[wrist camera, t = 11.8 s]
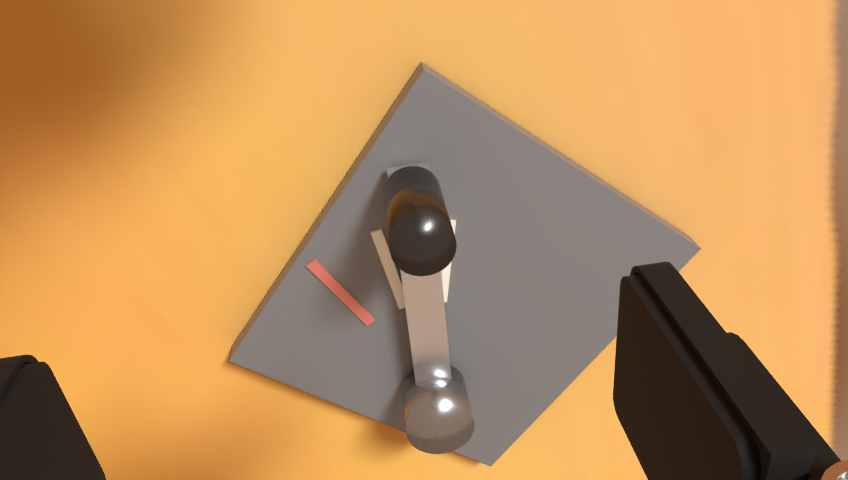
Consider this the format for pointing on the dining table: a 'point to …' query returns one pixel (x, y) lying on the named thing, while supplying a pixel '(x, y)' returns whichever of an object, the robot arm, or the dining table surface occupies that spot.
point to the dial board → (459, 271)
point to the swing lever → (426, 309)
